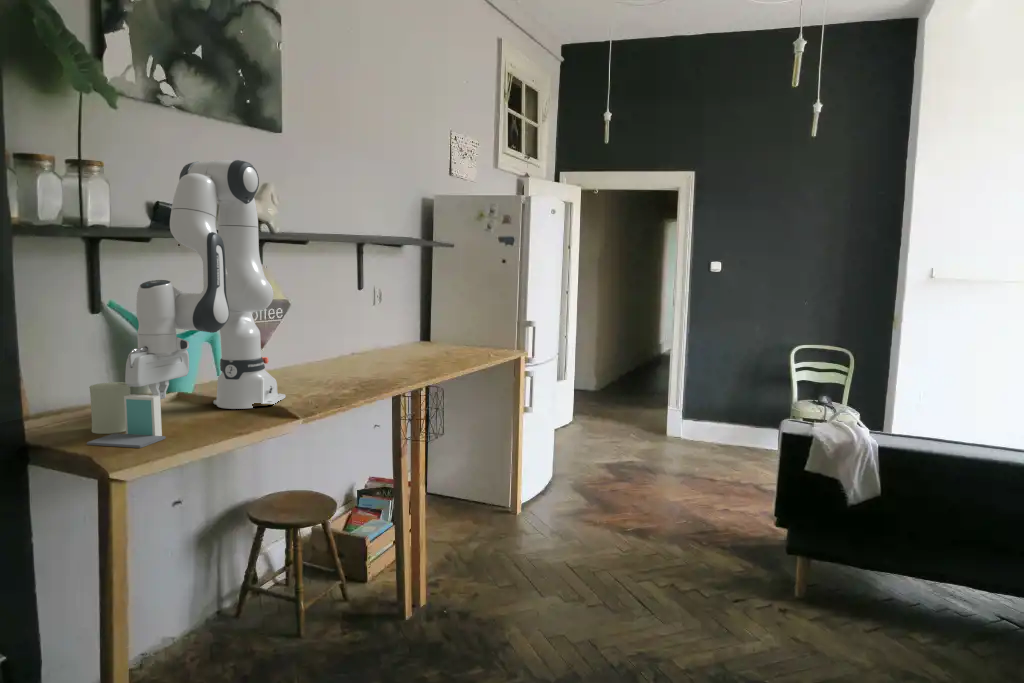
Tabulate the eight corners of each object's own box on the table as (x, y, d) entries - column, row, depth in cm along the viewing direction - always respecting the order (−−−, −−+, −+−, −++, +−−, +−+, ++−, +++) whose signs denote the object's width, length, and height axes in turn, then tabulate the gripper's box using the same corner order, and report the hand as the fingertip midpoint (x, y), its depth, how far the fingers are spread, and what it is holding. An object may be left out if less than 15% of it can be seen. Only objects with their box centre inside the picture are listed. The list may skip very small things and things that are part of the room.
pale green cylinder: (138, 429, 185) (136, 383, 183) (99, 435, 178) (96, 387, 177) (124, 424, 191) (122, 379, 189) (86, 429, 184) (83, 383, 183)
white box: (133, 433, 180) (131, 394, 179) (161, 435, 179) (160, 395, 178) (125, 436, 178) (123, 396, 176) (154, 438, 176) (152, 397, 175)
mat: (114, 435, 178) (114, 433, 178) (165, 438, 176) (165, 436, 176) (86, 444, 169) (86, 442, 169) (140, 447, 167) (140, 445, 167)
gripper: (140, 349, 171) (142, 407, 173) (193, 341, 191) (194, 392, 193) (116, 349, 172) (119, 406, 174) (171, 340, 193) (173, 391, 194)
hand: (159, 399), depth 184 cm, fingers closed
